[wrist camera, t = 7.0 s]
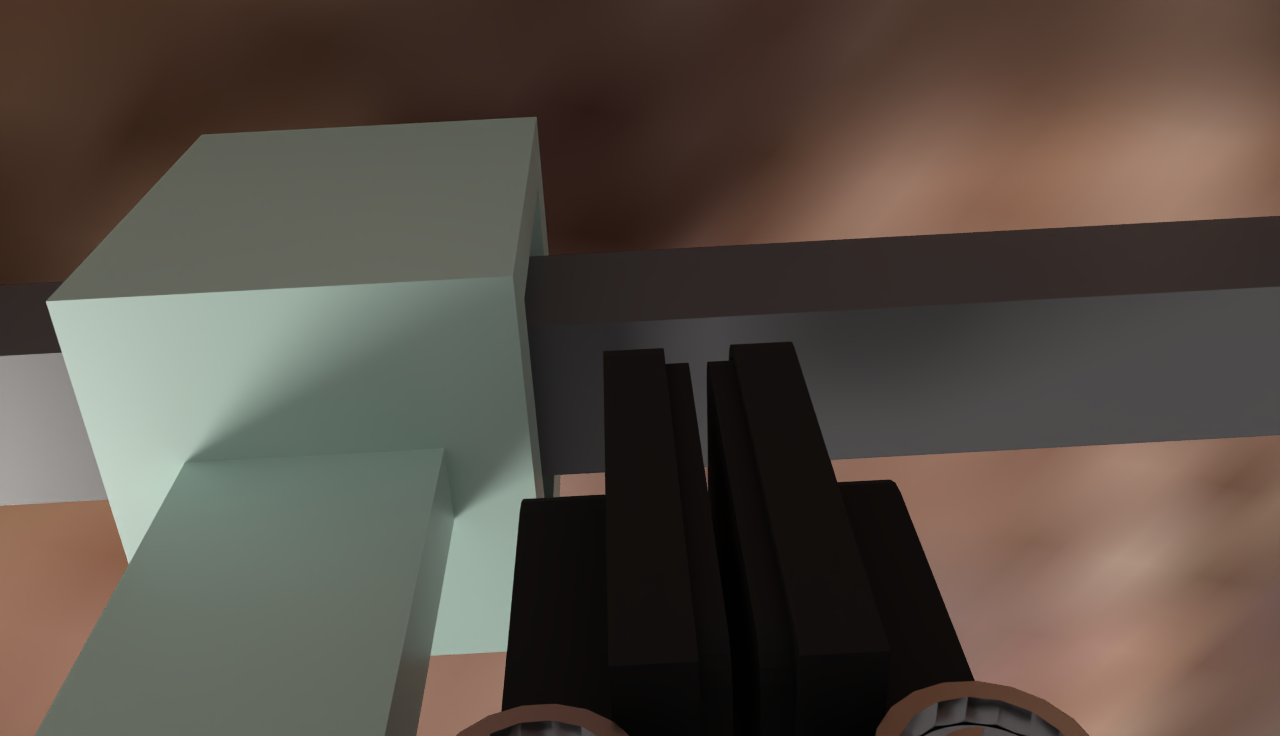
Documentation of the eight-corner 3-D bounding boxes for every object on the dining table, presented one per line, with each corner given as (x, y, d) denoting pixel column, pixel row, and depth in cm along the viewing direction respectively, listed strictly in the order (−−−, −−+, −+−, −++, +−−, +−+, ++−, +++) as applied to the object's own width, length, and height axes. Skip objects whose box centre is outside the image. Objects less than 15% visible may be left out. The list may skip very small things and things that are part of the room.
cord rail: (1911, -145, 15) (2661, -65, 10) (1673, 404, 19) (2110, 685, 13) (-536, -18, 15) (-1195, 139, 9) (-269, 510, 19) (-625, 840, 13)
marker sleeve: (537, 117, 14) (472, 536, 7) (563, 417, 16) (536, 983, 9) (201, 134, 14) (-210, 574, 7) (270, 432, 16) (6, 1016, 9)
